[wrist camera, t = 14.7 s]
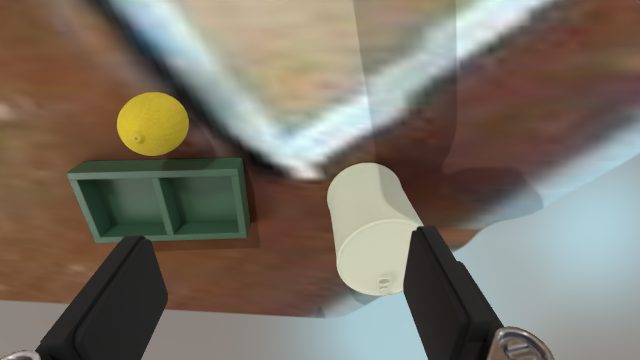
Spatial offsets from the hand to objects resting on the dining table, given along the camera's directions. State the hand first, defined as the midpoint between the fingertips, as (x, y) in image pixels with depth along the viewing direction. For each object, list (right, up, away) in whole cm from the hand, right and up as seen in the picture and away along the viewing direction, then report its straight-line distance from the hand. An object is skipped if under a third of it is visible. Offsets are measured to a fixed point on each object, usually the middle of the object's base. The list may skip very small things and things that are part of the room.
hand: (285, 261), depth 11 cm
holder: (-16, +1, +26) cm, 31 cm away
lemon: (-14, +10, +22) cm, 28 cm away
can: (+7, +1, +28) cm, 28 cm away
